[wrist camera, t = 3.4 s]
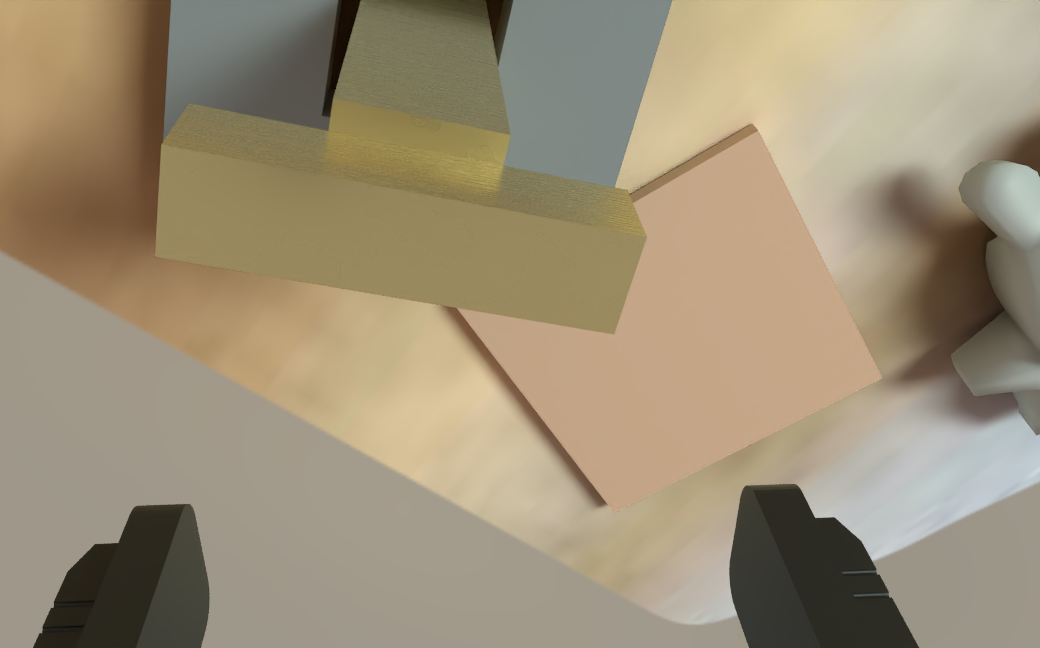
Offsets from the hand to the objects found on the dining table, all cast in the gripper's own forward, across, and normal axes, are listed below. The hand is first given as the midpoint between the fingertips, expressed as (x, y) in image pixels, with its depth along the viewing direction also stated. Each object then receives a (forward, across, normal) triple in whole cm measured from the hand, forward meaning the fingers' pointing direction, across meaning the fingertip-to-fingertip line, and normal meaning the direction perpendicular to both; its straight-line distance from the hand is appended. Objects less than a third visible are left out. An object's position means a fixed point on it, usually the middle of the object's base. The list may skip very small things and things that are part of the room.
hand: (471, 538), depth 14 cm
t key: (+25, +1, -1) cm, 25 cm away
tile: (+26, -10, +12) cm, 30 cm away
